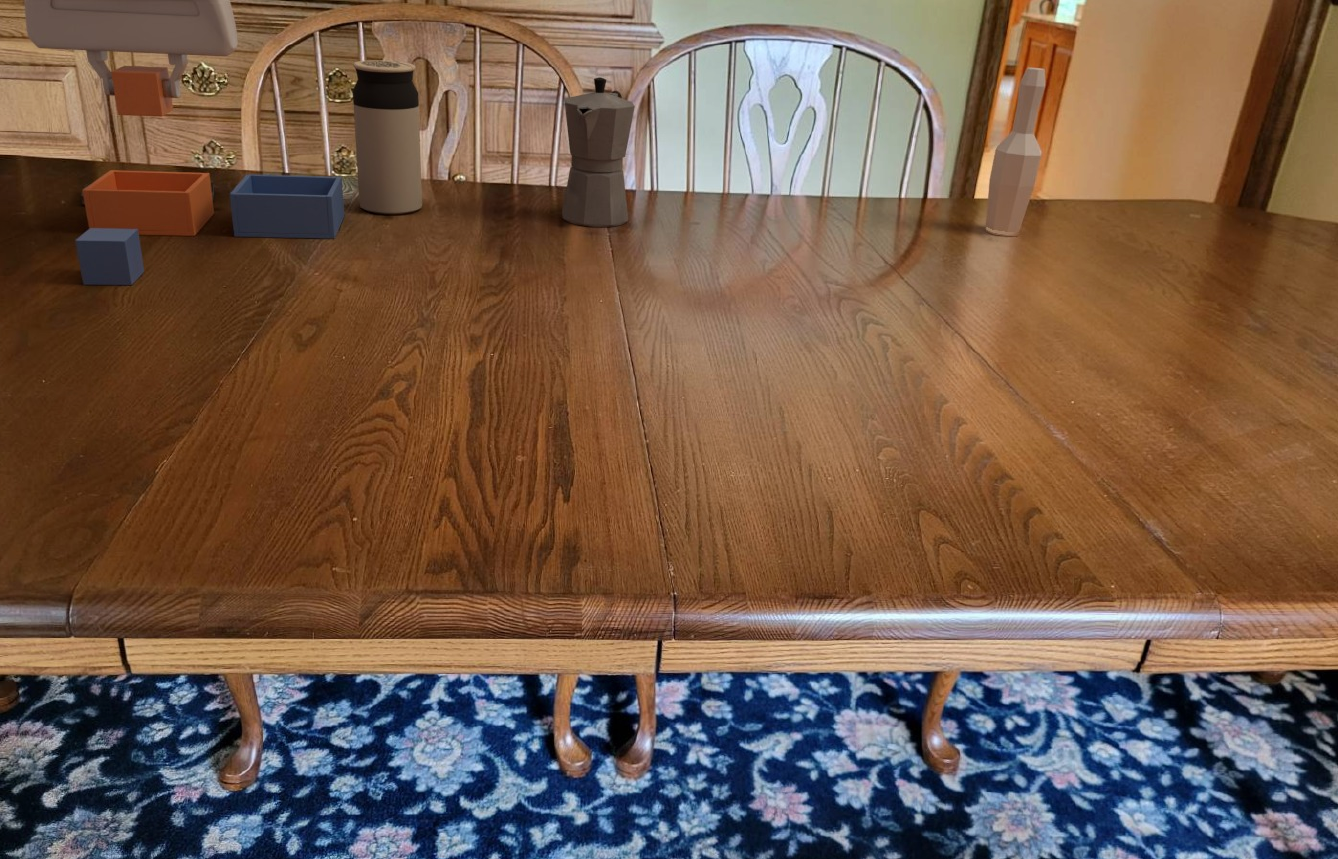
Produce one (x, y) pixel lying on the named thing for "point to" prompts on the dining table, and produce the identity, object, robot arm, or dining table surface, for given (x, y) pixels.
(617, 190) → the coffeepot
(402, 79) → the travel mug
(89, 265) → the blue block
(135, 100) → the orange block
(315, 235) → the blue bin
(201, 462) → the dining table surface
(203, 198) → the orange bin
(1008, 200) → the low poly bottle
